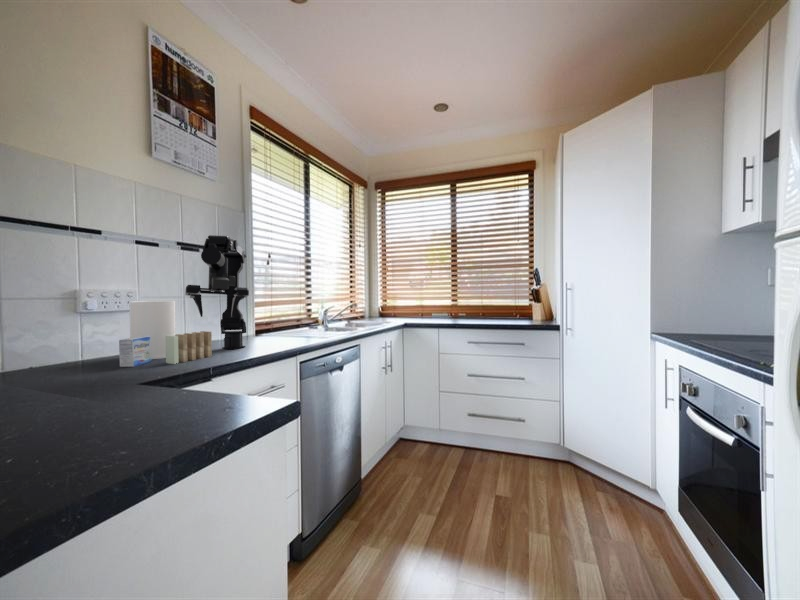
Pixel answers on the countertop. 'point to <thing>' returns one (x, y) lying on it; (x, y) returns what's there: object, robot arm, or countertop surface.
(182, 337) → the tile
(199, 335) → the tile
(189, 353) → the tile
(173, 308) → the canister
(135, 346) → the medicine box
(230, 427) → the countertop surface
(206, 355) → the tile
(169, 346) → the tile
